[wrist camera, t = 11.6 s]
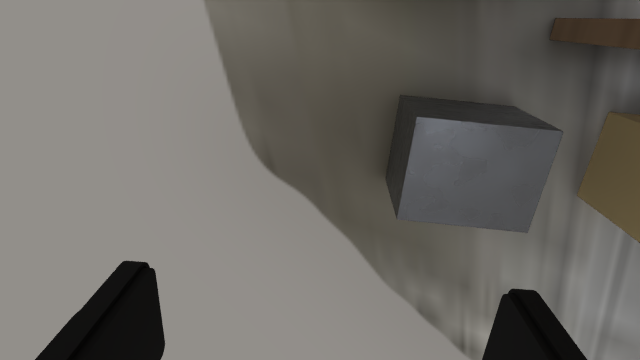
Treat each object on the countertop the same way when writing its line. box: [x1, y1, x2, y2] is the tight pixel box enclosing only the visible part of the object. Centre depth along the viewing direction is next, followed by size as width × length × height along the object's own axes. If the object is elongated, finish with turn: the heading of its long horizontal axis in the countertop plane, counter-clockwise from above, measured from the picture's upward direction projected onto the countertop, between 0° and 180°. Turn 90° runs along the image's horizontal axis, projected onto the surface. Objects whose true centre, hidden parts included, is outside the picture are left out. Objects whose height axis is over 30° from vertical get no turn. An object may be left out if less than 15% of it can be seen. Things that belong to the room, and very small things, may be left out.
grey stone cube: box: [386, 95, 563, 233], centre depth 23 cm, size 8×6×6 cm
